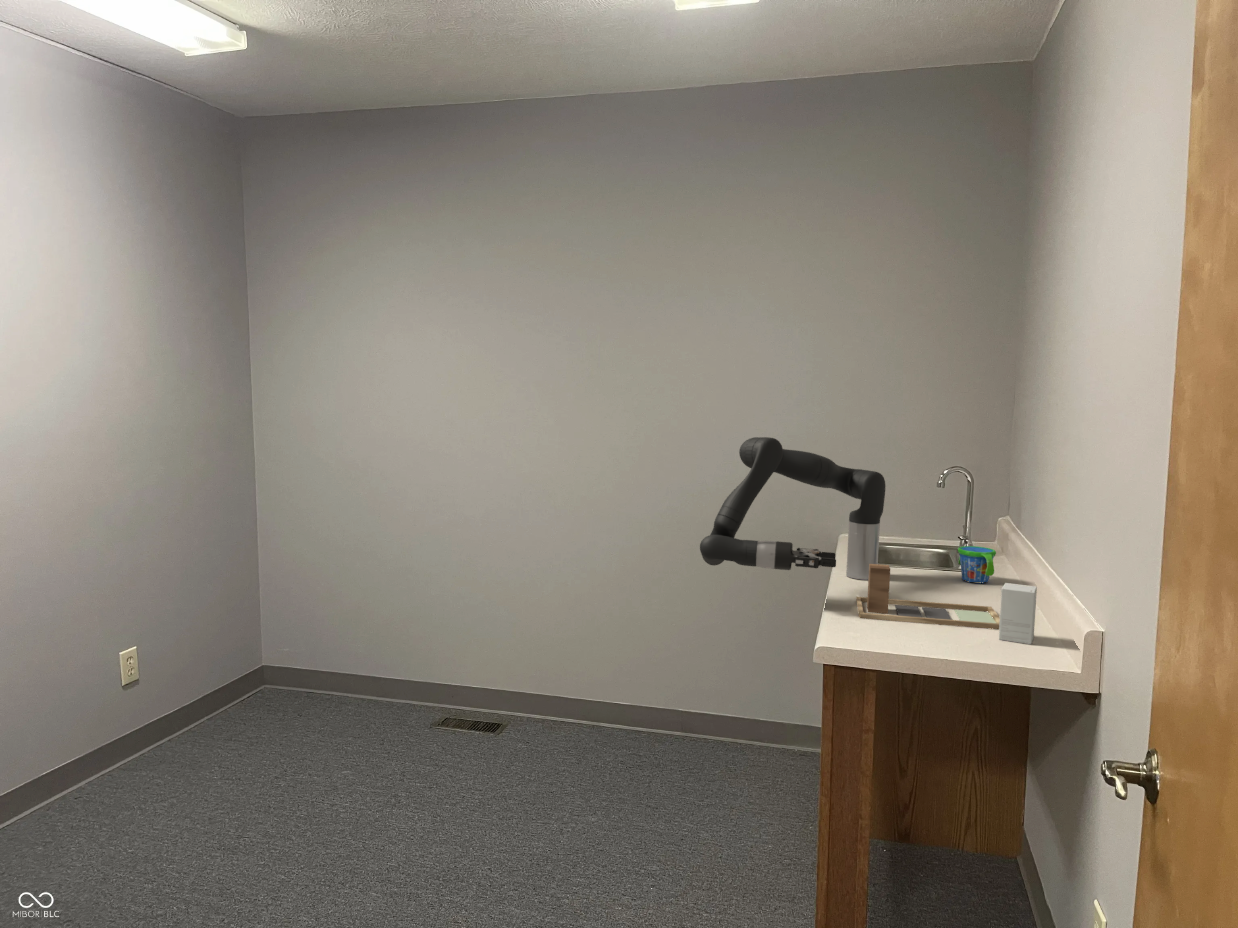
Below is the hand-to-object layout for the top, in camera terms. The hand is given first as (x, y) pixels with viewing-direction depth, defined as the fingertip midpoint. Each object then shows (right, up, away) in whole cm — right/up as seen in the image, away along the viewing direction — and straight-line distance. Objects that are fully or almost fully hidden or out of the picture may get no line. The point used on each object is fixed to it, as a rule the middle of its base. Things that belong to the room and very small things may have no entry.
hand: (835, 559), depth 232 cm
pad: (+35, -14, -6) cm, 38 cm away
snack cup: (+52, -11, +36) cm, 64 cm away
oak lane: (+23, -14, -4) cm, 27 cm away
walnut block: (+11, -13, -1) cm, 17 cm away
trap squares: (+23, -14, -4) cm, 27 cm away
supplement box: (+38, -16, -23) cm, 47 cm away
